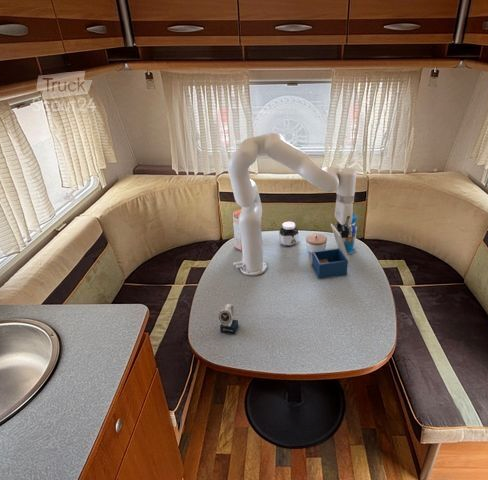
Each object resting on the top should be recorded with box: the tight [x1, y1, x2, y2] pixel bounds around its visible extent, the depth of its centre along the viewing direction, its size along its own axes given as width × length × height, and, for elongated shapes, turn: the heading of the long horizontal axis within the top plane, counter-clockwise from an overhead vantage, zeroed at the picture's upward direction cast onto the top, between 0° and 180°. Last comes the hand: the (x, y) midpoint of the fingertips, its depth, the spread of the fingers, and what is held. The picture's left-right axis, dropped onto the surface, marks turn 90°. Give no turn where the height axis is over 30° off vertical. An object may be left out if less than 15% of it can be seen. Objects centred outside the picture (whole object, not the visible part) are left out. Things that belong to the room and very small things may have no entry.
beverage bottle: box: [339, 213, 358, 255], centre depth 181 cm, size 8×8×20 cm
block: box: [319, 259, 329, 264], centre depth 169 cm, size 4×4×4 cm
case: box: [311, 247, 349, 280], centre depth 169 cm, size 14×12×8 cm
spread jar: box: [278, 221, 300, 248], centre depth 192 cm, size 12×11×12 cm
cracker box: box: [232, 208, 242, 252], centre depth 187 cm, size 14×6×21 cm, turn 136°
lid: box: [330, 223, 350, 261], centre depth 164 cm, size 14×12×5 cm
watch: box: [218, 303, 239, 335], centre depth 133 cm, size 6×8×11 cm
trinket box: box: [305, 232, 328, 254], centre depth 183 cm, size 11×11×9 cm
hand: (342, 234), depth 162 cm, fingers closed on lid, 5 cm apart
